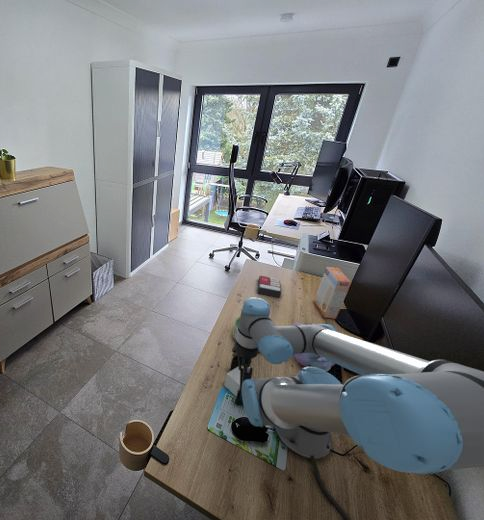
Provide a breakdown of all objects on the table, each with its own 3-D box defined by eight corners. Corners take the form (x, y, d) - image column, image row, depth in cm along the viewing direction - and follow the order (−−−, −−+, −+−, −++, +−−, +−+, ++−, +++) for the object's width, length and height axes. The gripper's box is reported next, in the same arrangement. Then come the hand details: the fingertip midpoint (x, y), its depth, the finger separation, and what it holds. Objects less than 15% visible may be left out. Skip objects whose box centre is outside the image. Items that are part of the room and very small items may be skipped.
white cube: (248, 389, 101) (252, 378, 99) (237, 397, 99) (240, 385, 96) (235, 377, 106) (238, 366, 103) (224, 385, 103) (226, 373, 100)
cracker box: (336, 319, 137) (352, 282, 127) (323, 317, 138) (337, 280, 128) (326, 302, 149) (339, 267, 140) (313, 301, 150) (326, 266, 141)
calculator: (280, 278, 163) (281, 290, 151) (278, 285, 165) (279, 297, 152) (259, 274, 167) (259, 286, 154) (258, 281, 169) (257, 293, 156)
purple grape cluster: (270, 339, 117) (302, 322, 104) (298, 318, 128) (330, 300, 114) (306, 386, 110) (346, 374, 96) (332, 359, 121) (371, 345, 107)
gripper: (269, 374, 81) (254, 421, 91) (251, 318, 103) (241, 361, 113) (242, 370, 82) (230, 417, 92) (230, 316, 104) (221, 358, 114)
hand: (236, 386), depth 102 cm, fingers open, 13 cm apart
